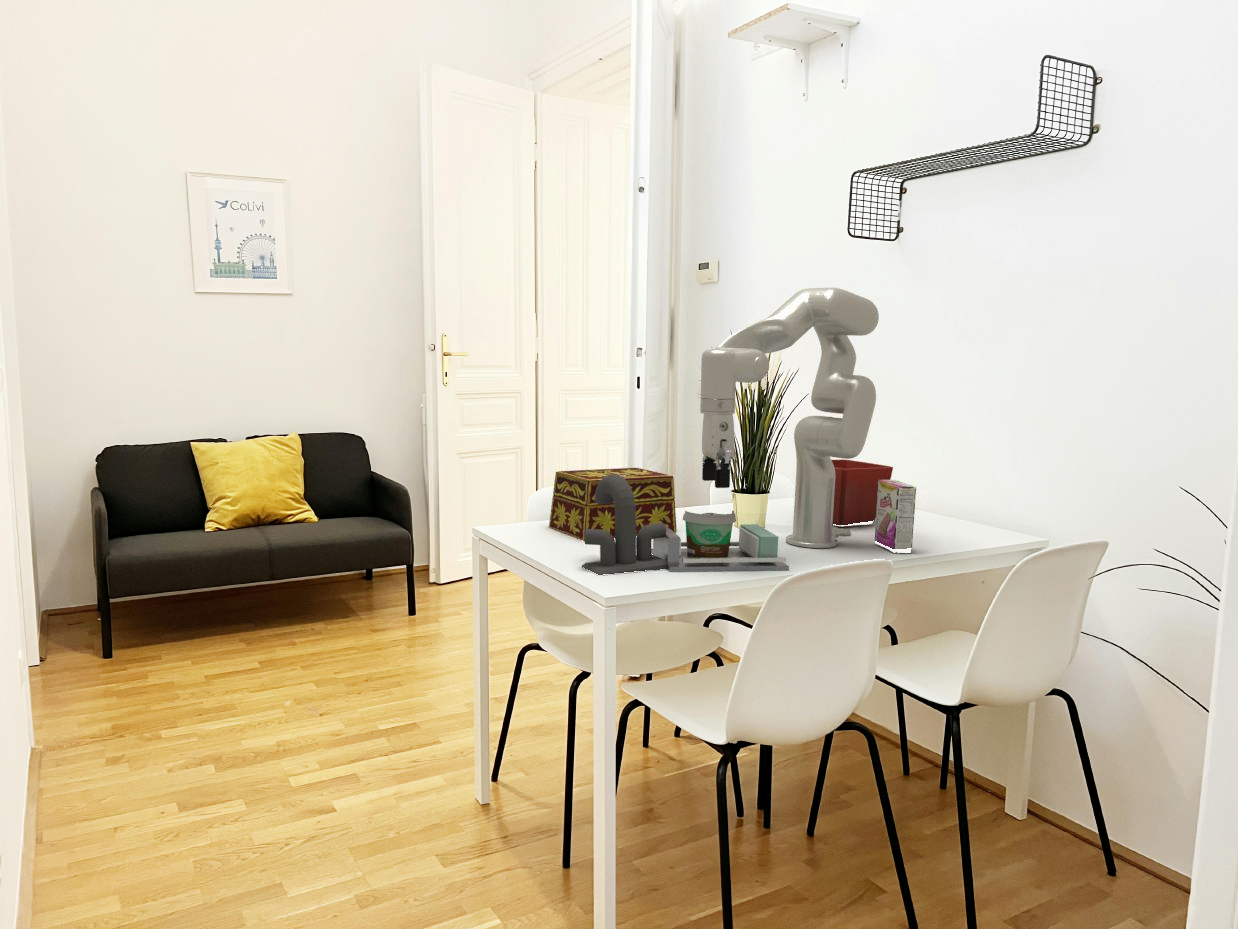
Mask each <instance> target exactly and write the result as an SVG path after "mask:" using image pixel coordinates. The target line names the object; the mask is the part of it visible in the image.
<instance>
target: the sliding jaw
mask: <svg viewBox="0 0 1238 929" xmlns="http://www.w3.org/2000/svg"><path fill="white" fill-rule="evenodd" d="M738 532H739V534H738V542H739V546H738V548H739V549H740V550H742V551H743V552H745V553H746V554H748V555H749V556H751V557H778V555H779V554H778V553H779V552H778V549H779V536H778V535H776V534H775V533H773V532H771V531H769V530H767V529H766V528H764V527H762V526H761V525H759V524H756V523H755V524H754V523H753V524H752V523H751V524H749V523H748V524H747V523H746V524H743V523H741V524H740V525H739V529H738ZM759 563H770V562H759Z"/></svg>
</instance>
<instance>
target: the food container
mask: <svg viewBox="0 0 1238 929" xmlns="http://www.w3.org/2000/svg"><path fill="white" fill-rule="evenodd" d="M682 521H684V522H685V538H686V539H685V540H686V542H687V547H686V548H687V555H689V556H692V557H696V558H719V557H728V553H729V548H730V547H731V546H730V542H731V539H732V538H731V537H732V531H733V526H734V523H736V522H737V518H736V513H735V511H734V510H733V509H732V510H731V513H727V514H725V513H724V514H723V513H722V514H721V513H715V512H705V513H696V512H691V511H690V512H689V511H687V510H685V511H684V513H683V516H682Z"/></svg>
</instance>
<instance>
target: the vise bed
mask: <svg viewBox="0 0 1238 929" xmlns="http://www.w3.org/2000/svg"><path fill="white" fill-rule="evenodd" d="M665 527H666V534H665V536H664V537H662V538H656V539H652V548H651V553H652V554H653V555H654V556H657V557H659V558H662V559H664V560H666V561H667V569H666V571H668V572H669V573H685V572H687V573H689V572H691V573H692V572H694V573H697V572H756V571H757V572H758V571H759V572H761V571H763V572H765V571H766V570H777V571H790V570H789V569H790V565H788V564H787V563H786V562H787V557H786V556H777V557H751V556H749V555H748V554H746V553H745V552H743V551H742V550H740V549H739V541H730V546H729V553H728V557H719V558H696V557H692V556H689V555H687V541H682V538H681V536H680V535H678V534H677V532H676V533H674V532H673V531H672V530H671V529H669V528H668V527H667V526H666V525H665ZM681 547H682V548H681ZM759 562H770V563H759Z"/></svg>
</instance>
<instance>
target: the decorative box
mask: <svg viewBox="0 0 1238 929" xmlns="http://www.w3.org/2000/svg"><path fill="white" fill-rule="evenodd" d="M609 474H616V475H620V476H621V477H623V478H624V479H625V480H626V481H627V482H628V484H629V485H630V487H631V489H632V492H633V495H634V499H635V508H636V536H637V534H638V532H639V530H640V529H641V528H642V527H643V526H645V525H648V524H654V523H661V522H662V523H664V525H666V526H667V527H668V528H669V529H671V530H672V531H673V532H674V533H676V534H677V531H678V530H677V515H676V514H677V513H676V503H675V502H676V500H675V499H676V498H675V497H676V496H675V482H674V481H675V480H674V475H671V474H667V473H662V472H658V471H653V470H649V469H645V468H640V467H619V468H601V469H597V468H596V469H577V470H559V471H555V476H554V484H553V492H552V494H553V495H552V499H551V506H550V507H551V508H550V513H549V514H550V515H549V524H548V528H549V529H552V530H554V531H556V532H559V533H562V534H563V535H566V534H567V536H569V535H570V537H571V538H574V539H577V540H579V539H580V541H582V540H583V541H582V542H584V534H585V530H586V529H599V530H605V531H607V532H609V533H610V534H611V535H612V536H613V538H615V505H614V502H613V503H611V504H597V503H595V493H596V488H597V486H598V484H599V482H600V481H601V480H602V478H603V477H605V476H607V475H609Z"/></svg>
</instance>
